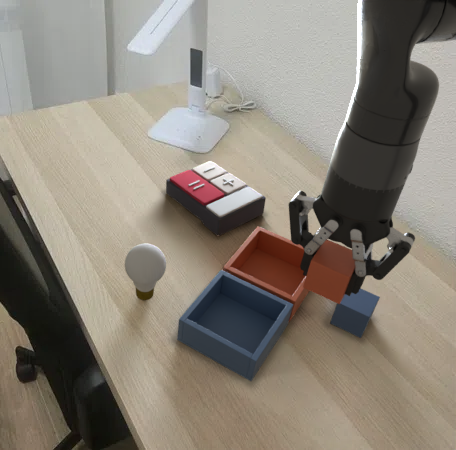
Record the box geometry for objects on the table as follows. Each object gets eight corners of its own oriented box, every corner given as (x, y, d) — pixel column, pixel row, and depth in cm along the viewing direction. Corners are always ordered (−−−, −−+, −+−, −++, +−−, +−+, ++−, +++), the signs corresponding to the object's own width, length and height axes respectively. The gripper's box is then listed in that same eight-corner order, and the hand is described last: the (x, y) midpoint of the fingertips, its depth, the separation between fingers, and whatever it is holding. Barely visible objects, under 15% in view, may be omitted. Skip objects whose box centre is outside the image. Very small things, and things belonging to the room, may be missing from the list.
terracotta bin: (319, 275, 87) (325, 255, 84) (289, 322, 80) (295, 301, 77) (253, 246, 92) (257, 225, 89) (219, 287, 85) (222, 267, 82)
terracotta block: (352, 281, 68) (362, 254, 65) (339, 304, 65) (349, 277, 62) (316, 265, 69) (325, 238, 66) (302, 287, 66) (311, 260, 63)
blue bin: (287, 325, 80) (293, 304, 77) (251, 381, 72) (256, 361, 69) (217, 290, 84) (220, 269, 81) (176, 339, 77) (178, 319, 74)
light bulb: (147, 277, 86) (148, 229, 79) (172, 299, 83) (175, 251, 76) (117, 294, 83) (115, 246, 76) (141, 318, 80) (142, 270, 73)
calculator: (211, 157, 105) (267, 194, 96) (209, 176, 108) (264, 213, 98) (165, 176, 100) (220, 216, 91) (164, 195, 103) (218, 236, 93)
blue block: (370, 317, 81) (380, 296, 78) (360, 338, 78) (369, 317, 75) (340, 303, 83) (348, 282, 80) (329, 323, 80) (337, 302, 77)
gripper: (288, 158, 56) (261, 274, 67) (433, 211, 50) (377, 329, 61) (315, 127, 61) (286, 241, 72) (451, 172, 55) (396, 288, 66)
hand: (328, 281), depth 67 cm, fingers closed on terracotta block, 4 cm apart
